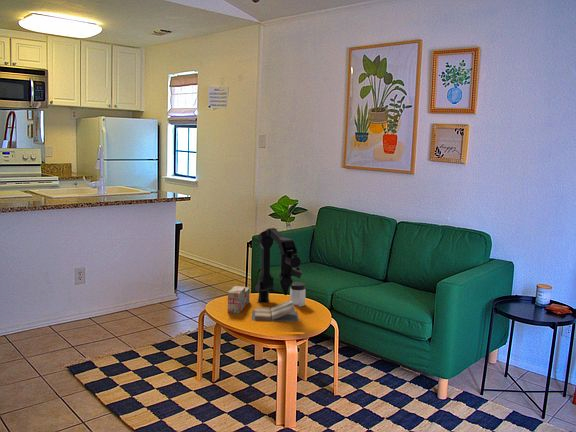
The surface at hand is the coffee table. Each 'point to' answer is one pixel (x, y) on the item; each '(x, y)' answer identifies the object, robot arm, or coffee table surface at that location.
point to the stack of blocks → (237, 299)
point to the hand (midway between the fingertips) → (285, 292)
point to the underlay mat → (288, 317)
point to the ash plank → (282, 309)
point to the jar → (298, 293)
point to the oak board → (262, 313)
